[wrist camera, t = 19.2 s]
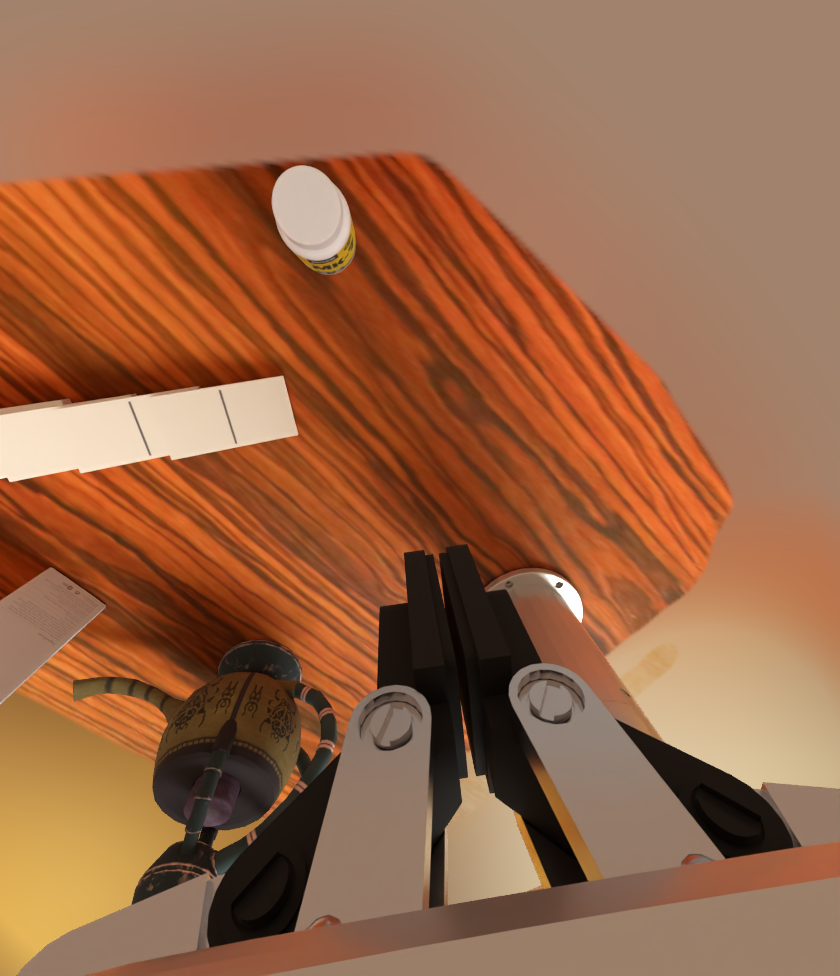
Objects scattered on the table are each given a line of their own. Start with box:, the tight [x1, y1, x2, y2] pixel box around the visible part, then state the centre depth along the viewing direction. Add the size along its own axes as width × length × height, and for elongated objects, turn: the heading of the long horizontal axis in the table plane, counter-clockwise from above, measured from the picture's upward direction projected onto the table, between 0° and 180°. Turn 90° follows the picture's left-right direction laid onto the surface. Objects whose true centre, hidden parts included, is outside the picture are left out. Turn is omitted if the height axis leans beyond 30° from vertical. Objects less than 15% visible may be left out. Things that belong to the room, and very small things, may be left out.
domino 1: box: [0, 394, 137, 482], centre depth 32 cm, size 2×5×10 cm
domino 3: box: [148, 375, 298, 460], centre depth 33 cm, size 2×5×10 cm
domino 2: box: [51, 386, 201, 473], centre depth 32 cm, size 2×5×10 cm
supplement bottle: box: [272, 165, 356, 275], centre depth 27 cm, size 5×5×8 cm
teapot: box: [73, 640, 337, 905], centre depth 33 cm, size 12×25×23 cm, turn 75°
